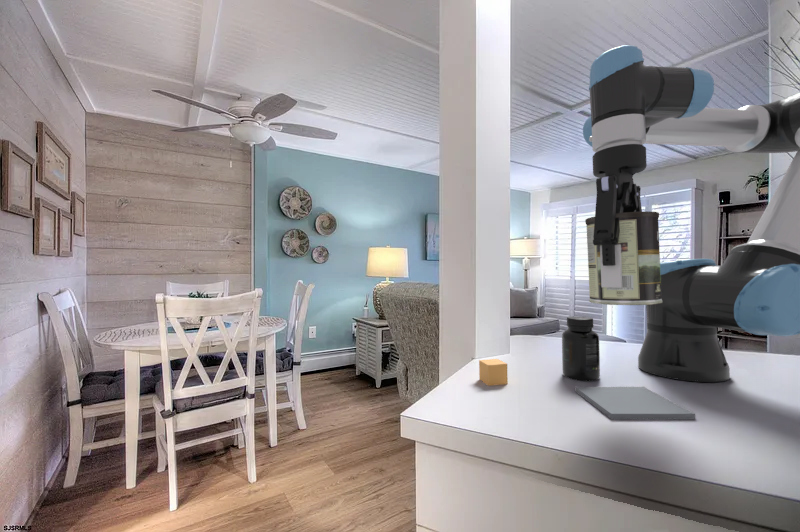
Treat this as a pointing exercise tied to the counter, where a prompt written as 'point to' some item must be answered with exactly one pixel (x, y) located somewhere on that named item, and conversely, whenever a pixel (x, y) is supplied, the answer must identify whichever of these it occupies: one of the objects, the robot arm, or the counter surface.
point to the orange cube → (493, 372)
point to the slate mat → (633, 403)
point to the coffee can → (629, 262)
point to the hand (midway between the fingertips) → (623, 285)
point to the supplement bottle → (580, 350)
